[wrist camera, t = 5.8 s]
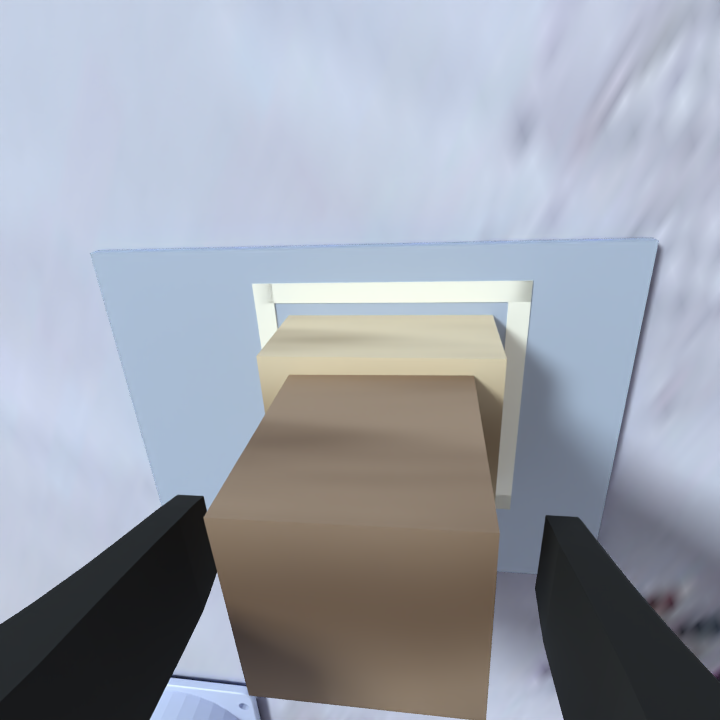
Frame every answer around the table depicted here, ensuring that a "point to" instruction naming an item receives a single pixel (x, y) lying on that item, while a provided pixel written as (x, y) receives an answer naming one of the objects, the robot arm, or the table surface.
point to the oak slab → (393, 356)
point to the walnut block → (363, 546)
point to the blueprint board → (390, 297)
